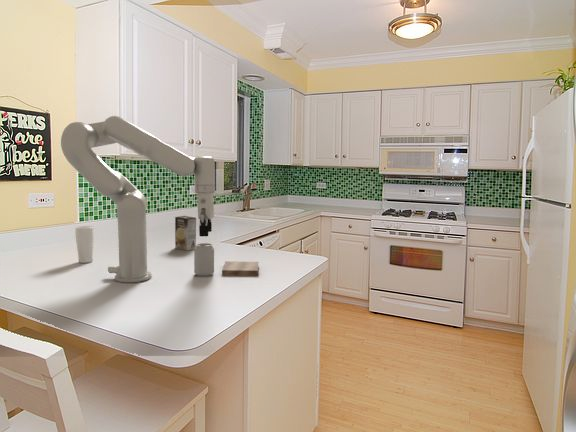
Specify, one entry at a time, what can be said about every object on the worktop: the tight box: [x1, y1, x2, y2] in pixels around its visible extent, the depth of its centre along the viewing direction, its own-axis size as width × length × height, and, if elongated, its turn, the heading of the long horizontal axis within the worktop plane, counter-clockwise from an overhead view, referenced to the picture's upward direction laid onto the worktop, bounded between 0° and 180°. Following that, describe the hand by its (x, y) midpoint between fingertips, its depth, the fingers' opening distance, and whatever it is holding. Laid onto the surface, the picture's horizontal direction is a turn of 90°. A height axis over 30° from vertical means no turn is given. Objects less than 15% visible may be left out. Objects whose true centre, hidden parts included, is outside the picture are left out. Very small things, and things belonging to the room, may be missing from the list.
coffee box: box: [174, 215, 197, 251], centre depth 195 cm, size 9×6×16 cm
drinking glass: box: [75, 225, 95, 264], centre depth 162 cm, size 7×7×15 cm
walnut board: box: [221, 260, 259, 277], centre depth 157 cm, size 14×14×2 cm
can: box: [193, 242, 215, 277], centre depth 150 cm, size 8×8×12 cm
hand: (205, 233), depth 149 cm, fingers open, 9 cm apart
